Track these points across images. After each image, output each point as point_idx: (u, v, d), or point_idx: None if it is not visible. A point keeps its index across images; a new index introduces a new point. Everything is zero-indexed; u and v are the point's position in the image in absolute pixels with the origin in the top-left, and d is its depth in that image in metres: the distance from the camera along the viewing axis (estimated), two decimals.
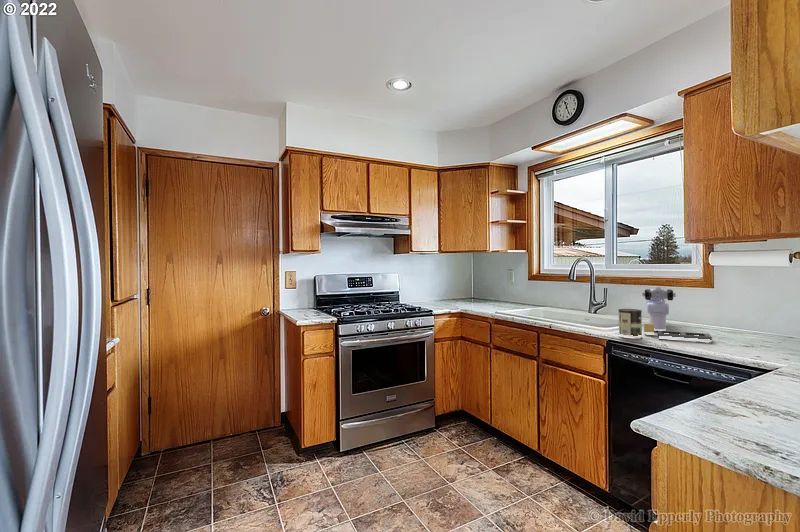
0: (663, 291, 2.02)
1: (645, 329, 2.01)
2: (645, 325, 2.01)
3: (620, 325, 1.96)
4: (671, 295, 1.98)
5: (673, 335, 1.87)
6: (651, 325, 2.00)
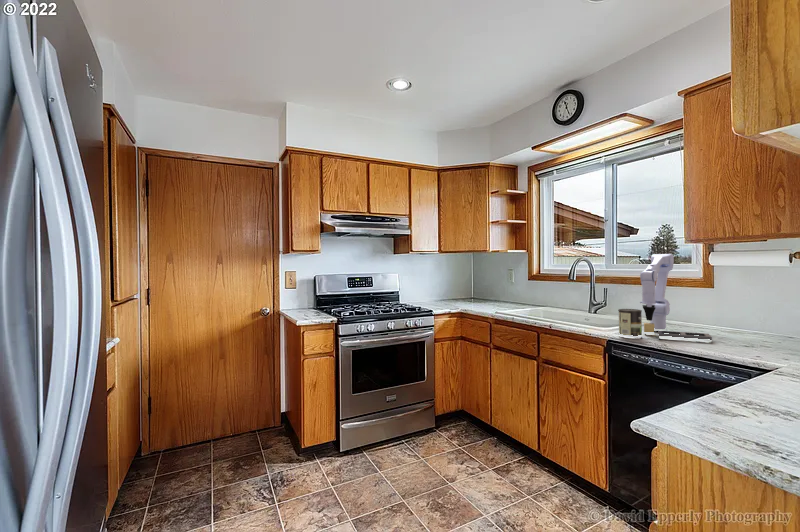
0: (644, 303, 2.01)
1: (645, 329, 2.01)
2: (645, 325, 2.01)
3: (620, 325, 1.96)
4: (649, 308, 1.97)
5: (673, 335, 1.87)
6: (651, 325, 2.00)
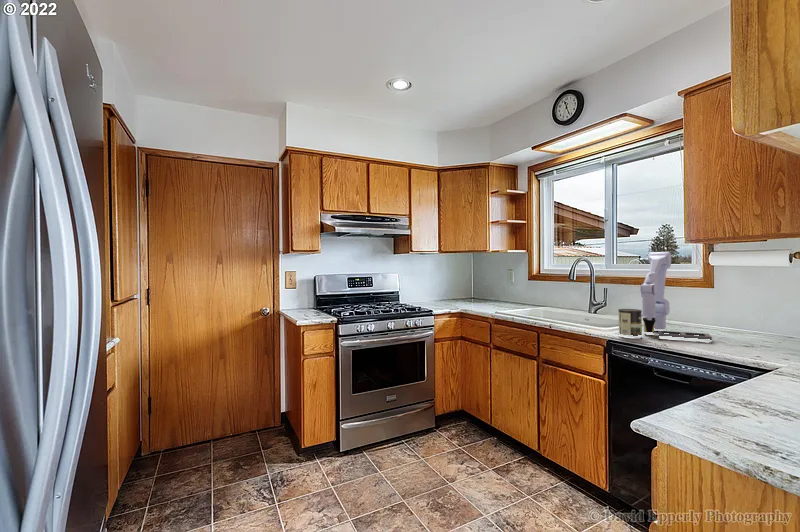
0: (645, 316, 2.01)
1: (645, 329, 2.01)
2: None
3: (620, 325, 1.96)
4: (649, 321, 1.99)
5: (673, 335, 1.87)
6: None
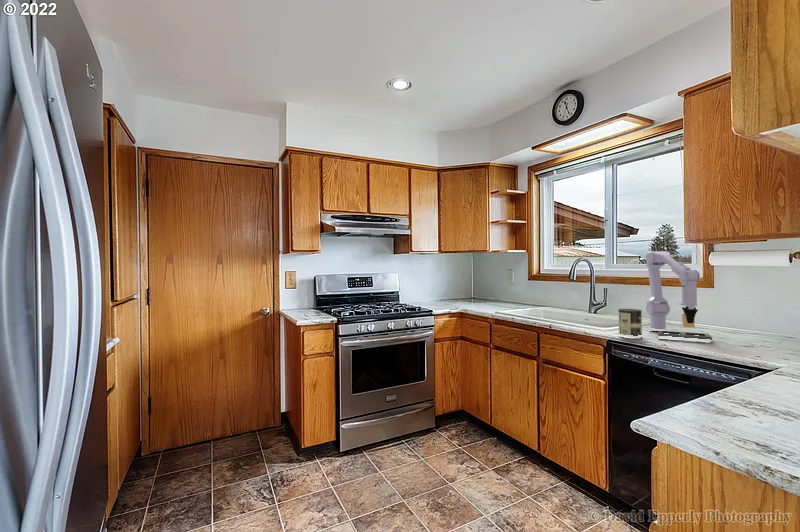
0: (685, 305, 1.87)
1: (684, 320, 1.87)
2: (684, 316, 1.87)
3: (620, 325, 1.96)
4: (691, 310, 1.84)
5: (673, 335, 1.87)
6: None
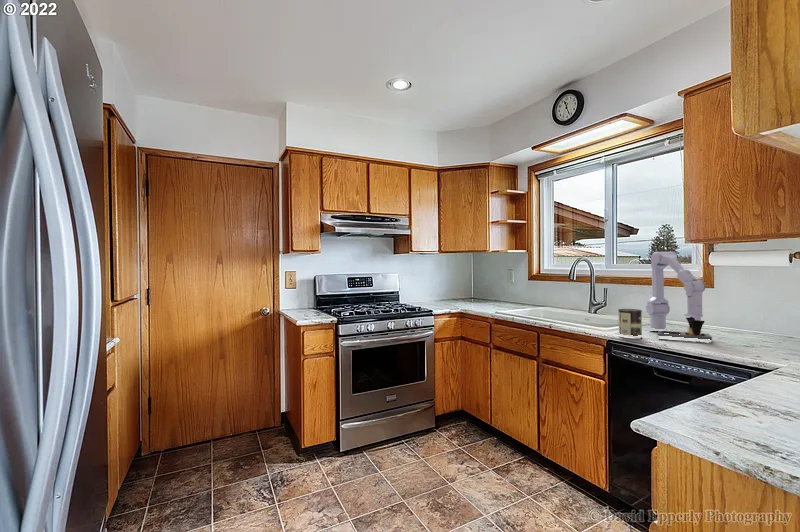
0: (691, 316, 1.85)
1: (690, 334, 1.85)
2: (690, 330, 1.85)
3: (620, 325, 1.96)
4: (698, 321, 1.81)
5: (673, 335, 1.87)
6: None
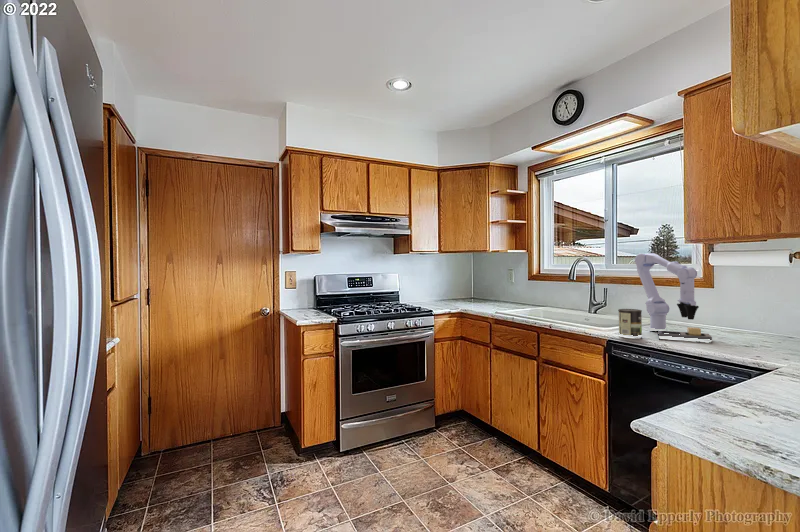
0: (685, 302, 1.94)
1: (690, 334, 1.85)
2: (690, 330, 1.85)
3: (620, 325, 1.96)
4: (692, 306, 1.90)
5: (673, 335, 1.87)
6: (697, 330, 1.84)
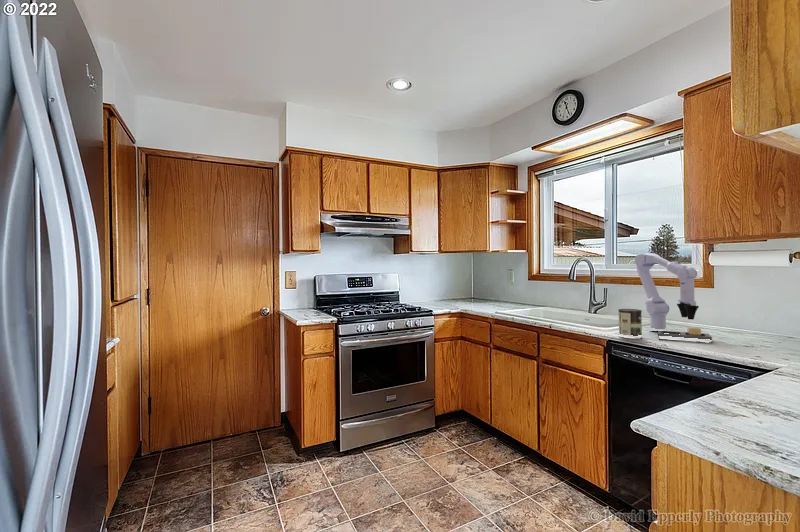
0: (685, 302, 1.94)
1: (690, 334, 1.85)
2: (690, 330, 1.85)
3: (620, 325, 1.96)
4: (692, 306, 1.90)
5: (673, 335, 1.87)
6: (697, 330, 1.84)
